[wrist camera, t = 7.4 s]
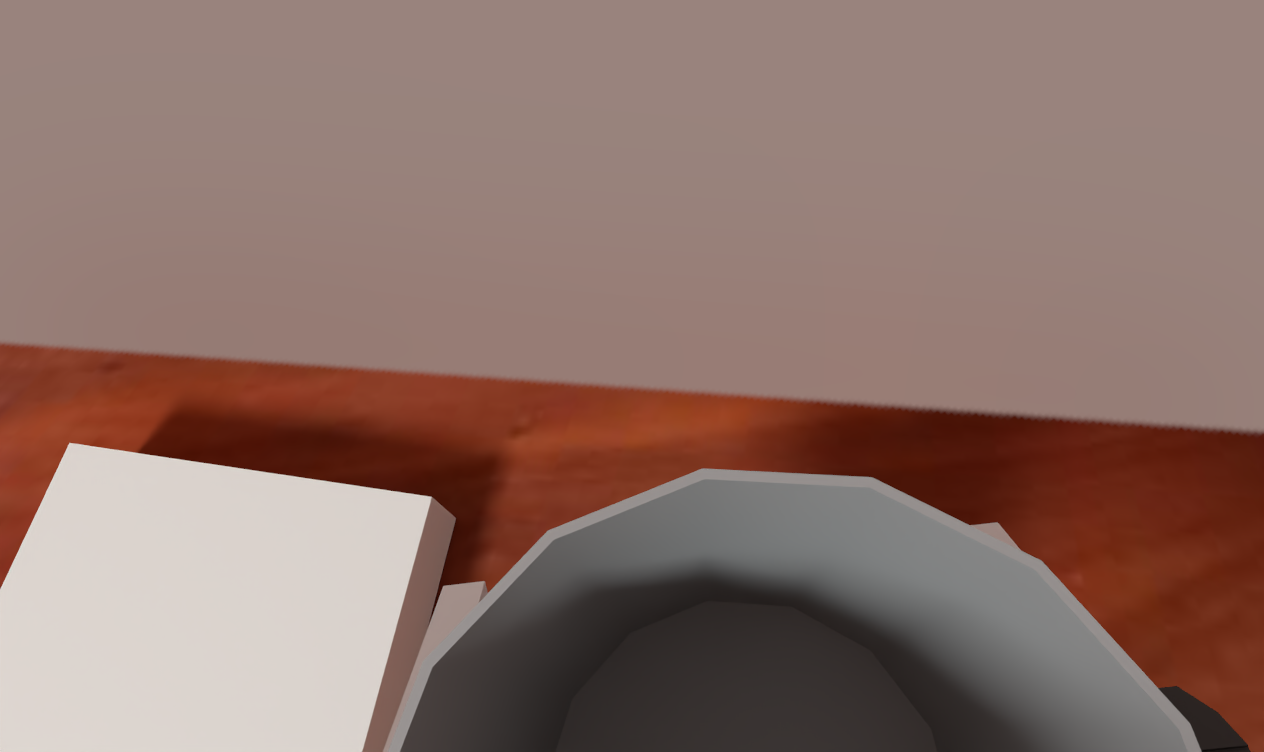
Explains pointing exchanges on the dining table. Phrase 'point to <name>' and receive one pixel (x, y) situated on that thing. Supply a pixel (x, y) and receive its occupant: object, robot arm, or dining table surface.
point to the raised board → (213, 609)
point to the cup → (781, 636)
